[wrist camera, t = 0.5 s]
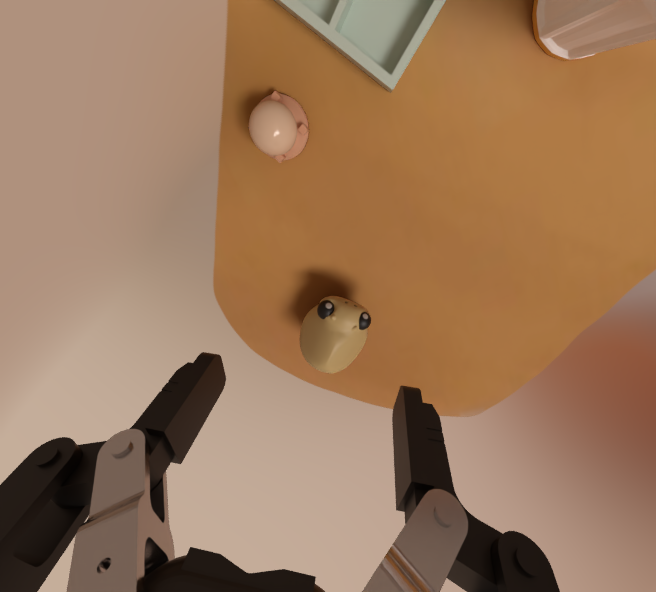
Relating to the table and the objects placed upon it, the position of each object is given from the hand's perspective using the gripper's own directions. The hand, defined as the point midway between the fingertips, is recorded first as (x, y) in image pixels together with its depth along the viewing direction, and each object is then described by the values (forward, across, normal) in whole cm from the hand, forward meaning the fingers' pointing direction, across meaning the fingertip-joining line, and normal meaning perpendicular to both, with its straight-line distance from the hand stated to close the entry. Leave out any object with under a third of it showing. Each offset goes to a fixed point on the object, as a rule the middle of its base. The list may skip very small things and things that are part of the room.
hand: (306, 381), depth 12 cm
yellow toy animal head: (+28, +1, +17) cm, 32 cm away
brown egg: (+27, +9, -8) cm, 30 cm away
